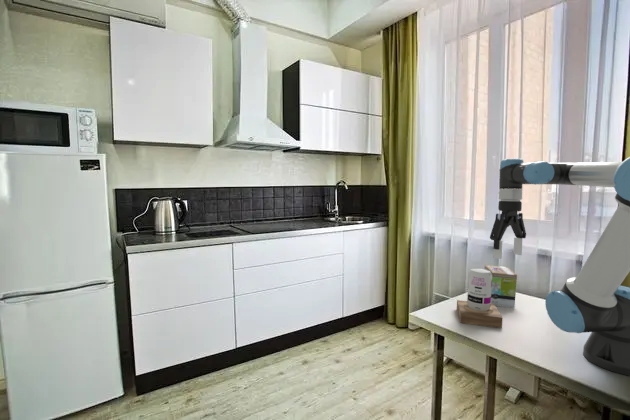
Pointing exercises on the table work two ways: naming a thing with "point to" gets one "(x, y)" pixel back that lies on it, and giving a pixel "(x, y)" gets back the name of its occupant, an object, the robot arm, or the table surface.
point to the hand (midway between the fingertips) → (507, 256)
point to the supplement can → (479, 289)
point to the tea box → (502, 286)
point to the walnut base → (479, 315)
